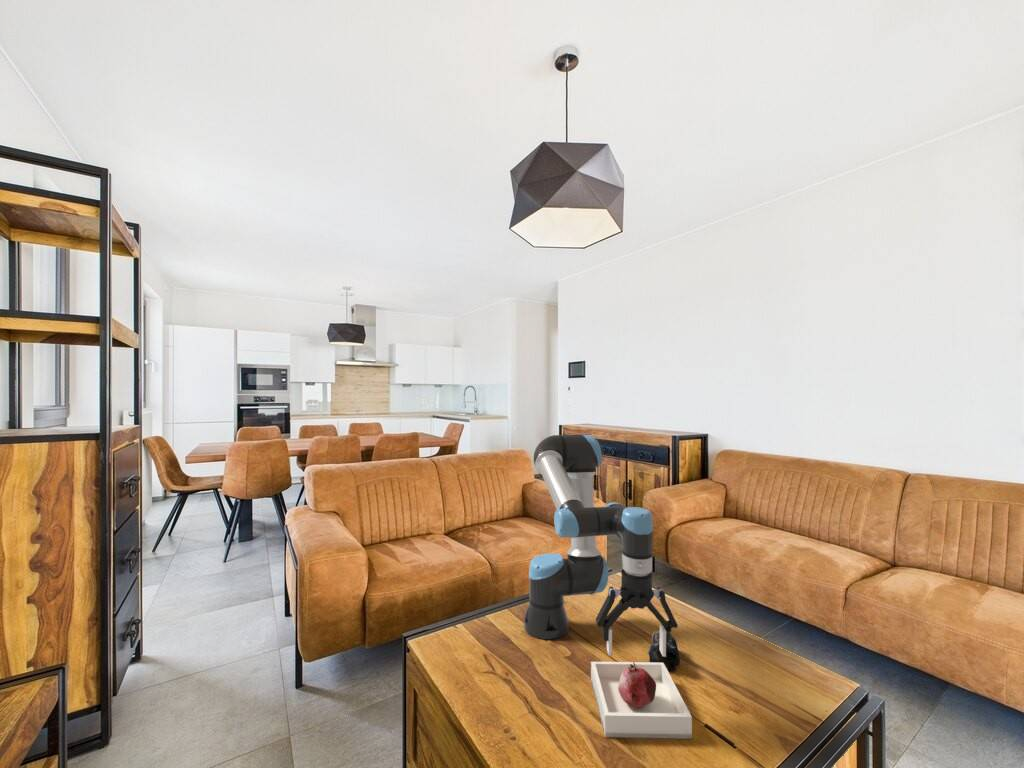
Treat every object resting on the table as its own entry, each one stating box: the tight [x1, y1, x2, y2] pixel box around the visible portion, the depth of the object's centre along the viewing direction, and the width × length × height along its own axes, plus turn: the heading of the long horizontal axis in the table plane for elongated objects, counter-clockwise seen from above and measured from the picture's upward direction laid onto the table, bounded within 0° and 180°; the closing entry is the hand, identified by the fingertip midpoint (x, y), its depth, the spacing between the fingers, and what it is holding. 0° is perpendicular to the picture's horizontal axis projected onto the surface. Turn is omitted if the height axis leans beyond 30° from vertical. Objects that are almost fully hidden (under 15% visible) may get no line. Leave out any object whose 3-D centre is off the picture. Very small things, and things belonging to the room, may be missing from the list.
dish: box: [590, 661, 693, 740], centre depth 111 cm, size 20×20×5 cm
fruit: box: [618, 661, 656, 708], centre depth 111 cm, size 9×10×10 cm
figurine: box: [648, 629, 681, 672], centre depth 130 cm, size 9×8×15 cm
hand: (635, 653), depth 112 cm, fingers open, 13 cm apart
